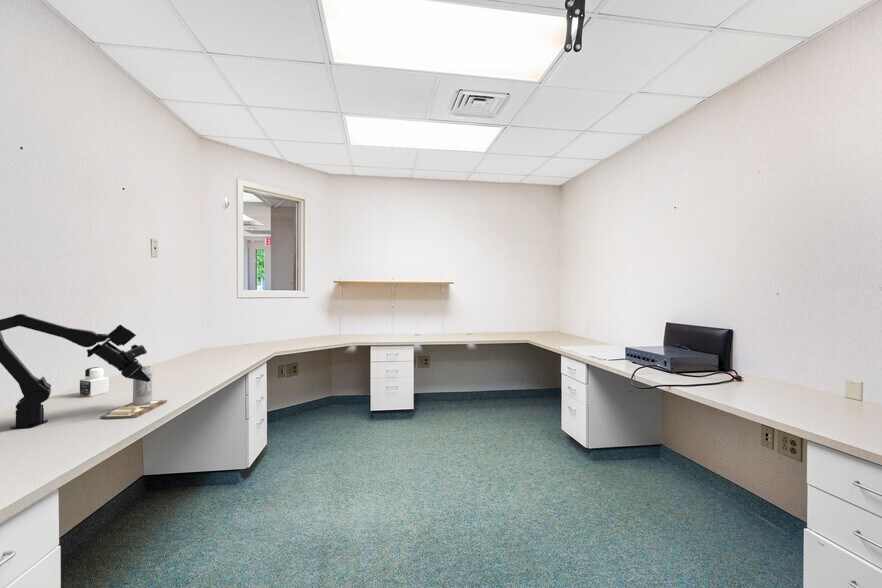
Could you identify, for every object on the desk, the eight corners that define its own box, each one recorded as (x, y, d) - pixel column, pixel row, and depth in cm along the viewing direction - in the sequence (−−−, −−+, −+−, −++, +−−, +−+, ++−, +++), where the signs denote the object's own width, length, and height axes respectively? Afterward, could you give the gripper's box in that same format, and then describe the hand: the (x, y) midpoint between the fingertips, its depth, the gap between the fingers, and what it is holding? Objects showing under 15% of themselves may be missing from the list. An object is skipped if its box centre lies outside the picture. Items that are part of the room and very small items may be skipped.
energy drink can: (151, 400, 152) (152, 365, 152) (152, 404, 147) (152, 367, 147) (133, 403, 148) (133, 366, 148) (132, 407, 144) (133, 369, 144)
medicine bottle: (79, 395, 162) (79, 368, 162) (98, 391, 169) (98, 365, 169) (90, 397, 160) (90, 369, 160) (108, 392, 167) (109, 366, 167)
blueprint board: (135, 418, 135) (135, 411, 135) (99, 419, 133) (99, 413, 133) (167, 402, 154) (167, 396, 154) (135, 403, 152) (135, 397, 152)
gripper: (134, 341, 139) (169, 366, 146) (129, 337, 152) (162, 360, 160) (105, 364, 133) (144, 389, 141) (103, 358, 146) (138, 380, 154)
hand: (148, 378), depth 149 cm, fingers open, 9 cm apart
